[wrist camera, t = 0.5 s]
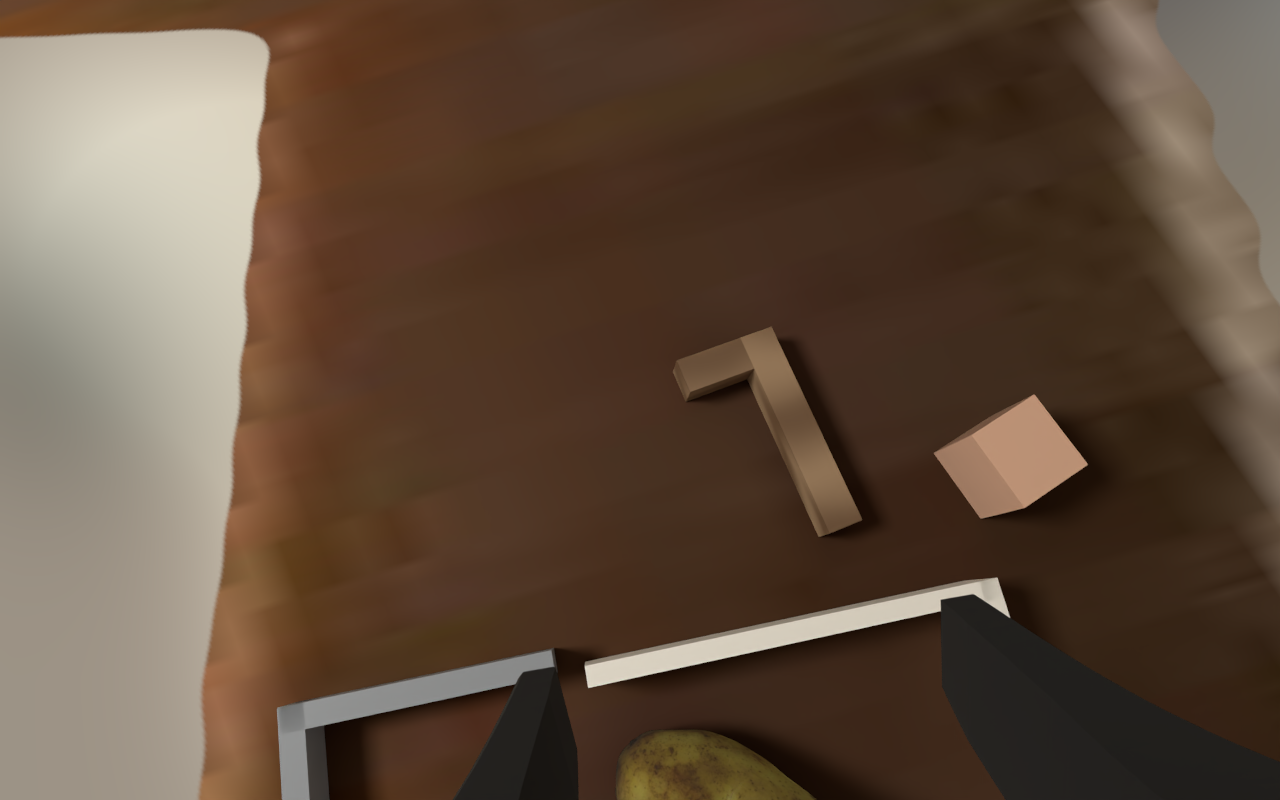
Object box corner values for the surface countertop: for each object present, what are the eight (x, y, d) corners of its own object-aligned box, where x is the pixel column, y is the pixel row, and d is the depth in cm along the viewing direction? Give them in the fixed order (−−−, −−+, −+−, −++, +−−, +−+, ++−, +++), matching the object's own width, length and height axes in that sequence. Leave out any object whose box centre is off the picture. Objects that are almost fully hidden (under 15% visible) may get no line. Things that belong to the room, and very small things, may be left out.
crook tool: (849, 524, 41) (862, 519, 39) (754, 563, 40) (762, 561, 38) (763, 339, 44) (771, 326, 42) (673, 371, 43) (676, 360, 41)
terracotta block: (1038, 479, 43) (1088, 464, 38) (980, 519, 42) (1024, 507, 37) (990, 416, 44) (1034, 394, 39) (933, 453, 43) (971, 434, 38)
